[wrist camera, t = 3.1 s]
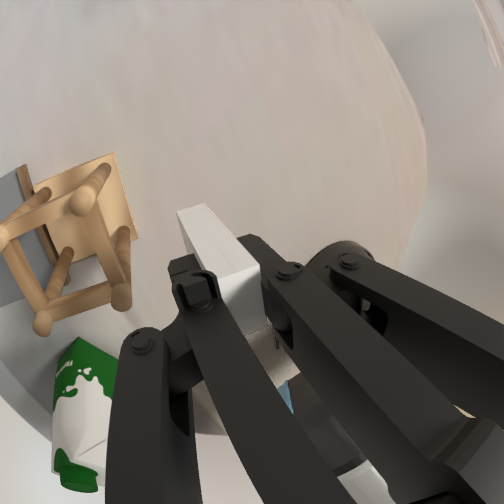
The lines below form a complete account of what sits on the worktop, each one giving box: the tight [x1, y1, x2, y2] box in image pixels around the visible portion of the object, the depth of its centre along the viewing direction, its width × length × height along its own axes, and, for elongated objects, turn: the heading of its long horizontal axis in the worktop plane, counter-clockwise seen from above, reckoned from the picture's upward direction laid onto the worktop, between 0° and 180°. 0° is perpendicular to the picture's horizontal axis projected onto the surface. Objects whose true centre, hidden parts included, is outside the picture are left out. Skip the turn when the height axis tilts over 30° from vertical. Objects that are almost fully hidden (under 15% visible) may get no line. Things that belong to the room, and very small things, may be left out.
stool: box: [0, 152, 138, 337], centre depth 18 cm, size 9×9×14 cm
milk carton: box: [51, 337, 119, 493], centre depth 23 cm, size 9×9×20 cm
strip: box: [16, 164, 70, 286], centre depth 22 cm, size 1×14×1 cm, turn 9°
